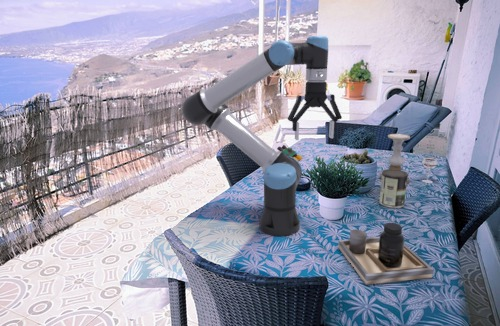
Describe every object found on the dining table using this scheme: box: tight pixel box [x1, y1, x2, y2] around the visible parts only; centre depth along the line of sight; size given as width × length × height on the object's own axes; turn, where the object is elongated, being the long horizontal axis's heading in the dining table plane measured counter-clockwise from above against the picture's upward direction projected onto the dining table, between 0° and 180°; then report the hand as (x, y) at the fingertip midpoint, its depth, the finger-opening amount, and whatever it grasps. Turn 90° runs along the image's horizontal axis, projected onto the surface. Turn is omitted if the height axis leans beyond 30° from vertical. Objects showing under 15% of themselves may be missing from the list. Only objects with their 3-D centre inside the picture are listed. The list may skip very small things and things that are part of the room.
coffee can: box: [379, 168, 409, 209], centre depth 144 cm, size 10×10×14 cm
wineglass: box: [421, 156, 439, 184], centre depth 170 cm, size 7×7×12 cm
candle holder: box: [379, 133, 411, 185], centre depth 170 cm, size 11×11×24 cm
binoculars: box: [276, 144, 304, 163], centre depth 192 cm, size 14×14×15 cm
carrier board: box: [337, 229, 435, 285], centre depth 103 cm, size 20×20×7 cm
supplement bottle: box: [378, 222, 405, 268], centre depth 99 cm, size 7×7×12 cm
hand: (313, 138), depth 127 cm, fingers open, 13 cm apart
